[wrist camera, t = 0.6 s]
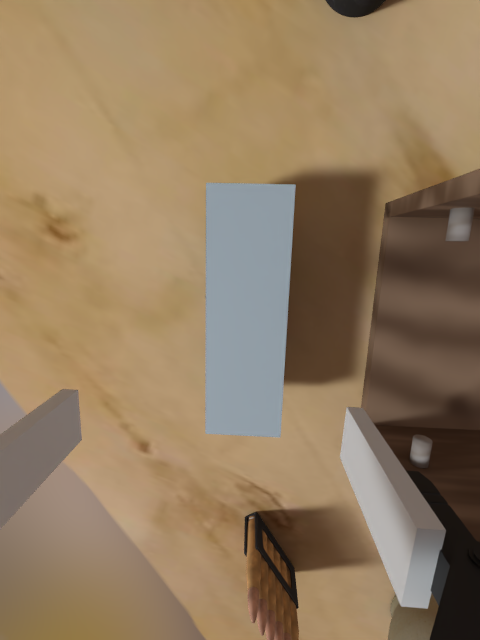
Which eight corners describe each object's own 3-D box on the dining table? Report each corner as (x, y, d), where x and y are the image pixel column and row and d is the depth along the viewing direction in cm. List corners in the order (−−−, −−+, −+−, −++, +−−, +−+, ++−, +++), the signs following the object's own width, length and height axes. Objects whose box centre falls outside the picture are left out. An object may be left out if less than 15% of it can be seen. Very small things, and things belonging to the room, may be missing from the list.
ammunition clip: (244, 516, 42) (240, 619, 30) (256, 510, 42) (256, 612, 30) (282, 573, 44) (292, 691, 32) (294, 568, 43) (309, 686, 32)
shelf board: (212, 192, 28) (206, 182, 25) (290, 193, 28) (295, 184, 24) (211, 412, 33) (205, 433, 29) (277, 415, 33) (280, 437, 29)
